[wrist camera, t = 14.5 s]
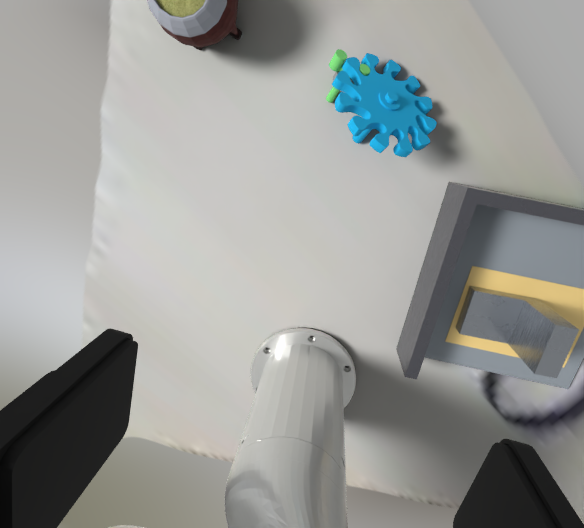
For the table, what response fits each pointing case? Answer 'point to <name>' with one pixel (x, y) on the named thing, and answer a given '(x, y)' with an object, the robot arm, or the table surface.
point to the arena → (495, 278)
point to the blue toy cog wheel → (380, 103)
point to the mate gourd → (197, 20)
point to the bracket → (519, 327)
